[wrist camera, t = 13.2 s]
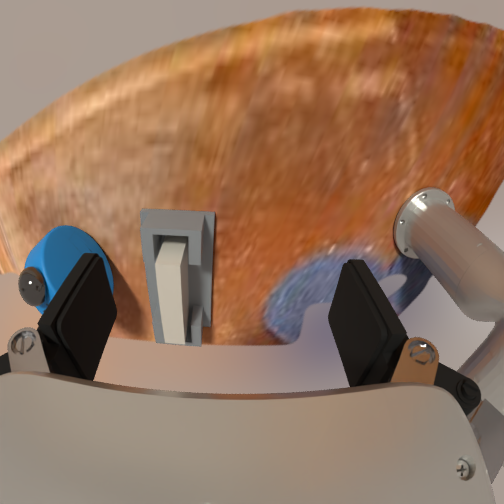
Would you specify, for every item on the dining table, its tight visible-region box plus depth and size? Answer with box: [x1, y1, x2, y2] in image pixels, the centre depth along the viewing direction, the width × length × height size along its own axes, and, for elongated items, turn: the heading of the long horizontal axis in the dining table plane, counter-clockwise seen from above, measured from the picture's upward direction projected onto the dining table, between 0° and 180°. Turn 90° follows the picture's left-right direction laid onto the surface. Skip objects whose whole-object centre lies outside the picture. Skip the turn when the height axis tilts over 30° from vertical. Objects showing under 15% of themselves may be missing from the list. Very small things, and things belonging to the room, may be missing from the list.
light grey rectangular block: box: [155, 235, 189, 345], centre depth 39 cm, size 3×14×7 cm, turn 174°
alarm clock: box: [18, 225, 114, 315], centre depth 33 cm, size 13×6×15 cm, turn 29°
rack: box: [140, 209, 215, 347], centre depth 40 cm, size 10×21×6 cm, turn 174°
